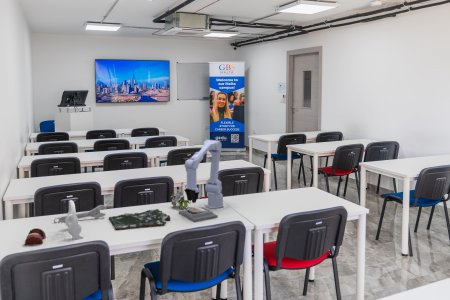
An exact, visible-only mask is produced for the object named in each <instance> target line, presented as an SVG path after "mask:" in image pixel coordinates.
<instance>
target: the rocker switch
mask: <svg viewBox="0 0 450 300" xmlns="http://www.w3.org/2000/svg"><path fill="white" fill-rule="evenodd" d="M187 210H190V211H192V212H198V213H200V212H202V213H203V212H208V211H207V210H205V209H203V208H199V207H192V206H191V207H190V206H188V207H187Z"/></svg>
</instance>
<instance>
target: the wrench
mask: <svg viewBox="0 0 450 300" xmlns="http://www.w3.org/2000/svg"><path fill="white" fill-rule="evenodd" d="M102 209H103V210H107V206H105V205H103V204H100V205H97V206H96V207H95V208H92V209H91V210H89V211H85V212H80V213H76V216H77V218H78V220H79V219H83V218H89V217H91V218H94V219H95V220H99V219H100V218H103V217H104V216H106V213H103V212H101V210H102ZM67 216H68V215H63V216H60V217H59V216H58V217H55V218H54V220H53V222H54V223H55V224H59V223H60V222H61V223H65V218H66V217H67ZM56 220H58V221H56ZM57 222H58V223H57Z"/></svg>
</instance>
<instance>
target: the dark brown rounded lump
mask: <svg viewBox="0 0 450 300" xmlns="http://www.w3.org/2000/svg"><path fill="white" fill-rule="evenodd" d="M46 238H47V236H46V232H44V230H43V229H41V228H39V227H38V228H32V229H31V230H29V232H28V234H27V236H26V238H25V240H24V245H25V246H31V245H32V246H33V245H43V243H44V241H43V239H46Z"/></svg>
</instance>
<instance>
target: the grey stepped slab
mask: <svg viewBox="0 0 450 300" xmlns="http://www.w3.org/2000/svg"><path fill="white" fill-rule="evenodd" d="M198 208H203V209H205V210H207V211H208V212H203V213H202V212H200V213H198V212H192V211H190V210H188V209H182V210H178V214H179V215H180V216H182V217H184V218H186V219H187V220H189V221H191V222H193V223H198V222H202V221H208V220H212V219H213V220H214V219H217V218H218V217H219V216H218V214H216V213H213V212H214V211H213V210H211V209H210V208H208V207H206V206H205V207H204V206H201V207H198Z"/></svg>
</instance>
